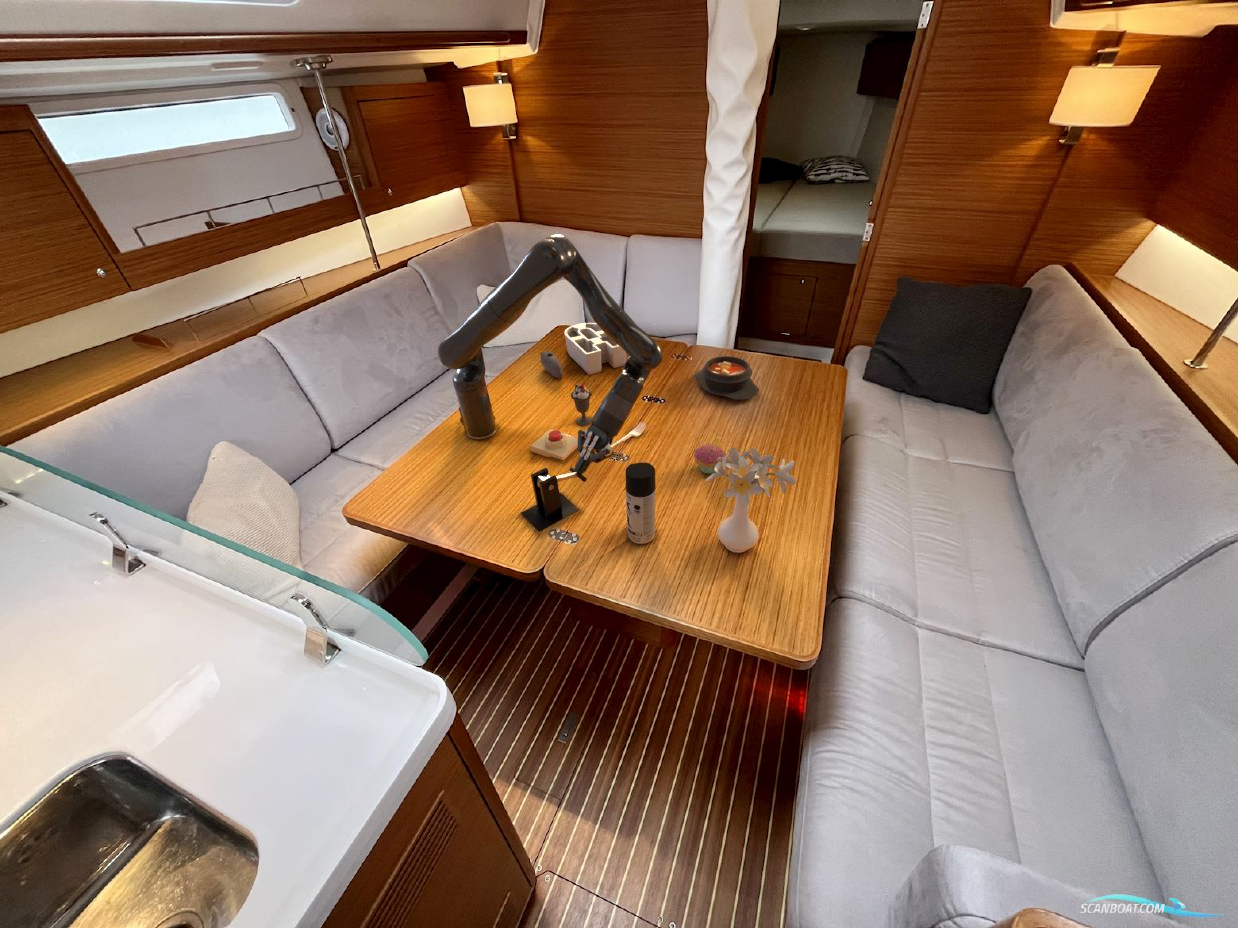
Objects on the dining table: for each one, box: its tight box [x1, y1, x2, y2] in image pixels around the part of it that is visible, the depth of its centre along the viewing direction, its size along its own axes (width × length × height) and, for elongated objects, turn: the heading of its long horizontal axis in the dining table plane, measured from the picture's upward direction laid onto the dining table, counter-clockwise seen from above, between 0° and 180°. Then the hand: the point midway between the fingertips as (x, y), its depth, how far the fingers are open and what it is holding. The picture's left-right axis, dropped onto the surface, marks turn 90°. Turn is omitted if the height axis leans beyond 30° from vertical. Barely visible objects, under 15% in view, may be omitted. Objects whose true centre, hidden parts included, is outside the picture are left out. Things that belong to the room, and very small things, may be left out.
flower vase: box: [705, 446, 797, 554], centre depth 109 cm, size 13×18×25 cm
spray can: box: [625, 461, 657, 545], centre depth 114 cm, size 7×7×20 cm
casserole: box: [694, 355, 760, 401], centre depth 171 cm, size 25×19×8 cm
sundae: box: [570, 381, 593, 427], centre depth 156 cm, size 7×7×15 cm
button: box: [549, 429, 562, 442], centre depth 147 cm, size 4×4×2 cm
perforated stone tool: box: [540, 350, 564, 380], centre depth 186 cm, size 15×5×7 cm, turn 28°
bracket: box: [520, 467, 580, 533], centre depth 123 cm, size 12×9×13 cm
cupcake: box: [693, 434, 726, 475], centre depth 135 cm, size 9×8×12 cm
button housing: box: [529, 428, 578, 461], centre depth 149 cm, size 12×10×4 cm
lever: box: [537, 466, 587, 487], centre depth 123 cm, size 12×6×2 cm, turn 129°
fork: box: [610, 421, 648, 449], centre depth 150 cm, size 3×20×2 cm, turn 137°
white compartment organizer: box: [564, 322, 627, 375], centre depth 196 cm, size 17×28×9 cm, turn 27°
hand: (578, 472), depth 126 cm, fingers closed
